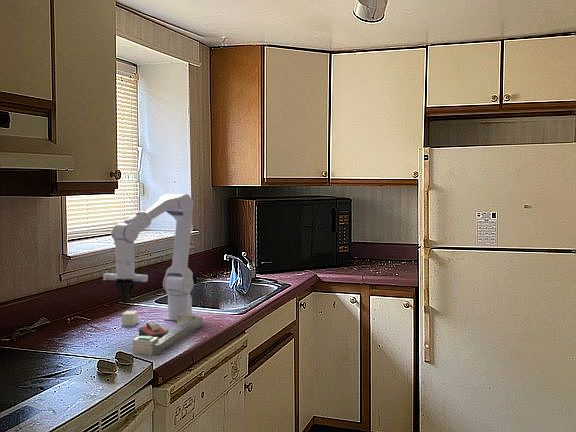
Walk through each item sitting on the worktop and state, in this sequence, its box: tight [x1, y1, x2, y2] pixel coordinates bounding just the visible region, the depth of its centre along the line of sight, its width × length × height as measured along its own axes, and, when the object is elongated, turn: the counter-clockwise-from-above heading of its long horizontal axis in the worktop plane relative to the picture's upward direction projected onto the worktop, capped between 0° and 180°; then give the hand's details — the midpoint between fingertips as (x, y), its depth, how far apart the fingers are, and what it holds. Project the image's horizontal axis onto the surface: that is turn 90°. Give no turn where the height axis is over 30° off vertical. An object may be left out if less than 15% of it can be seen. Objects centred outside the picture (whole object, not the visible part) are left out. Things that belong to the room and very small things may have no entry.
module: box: [121, 310, 139, 327], centre depth 208 cm, size 5×4×4 cm
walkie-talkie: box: [138, 321, 170, 339], centre depth 194 cm, size 9×4×20 cm
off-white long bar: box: [132, 313, 203, 356], centre depth 190 cm, size 35×8×4 cm, turn 168°
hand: (125, 303), depth 195 cm, fingers closed
